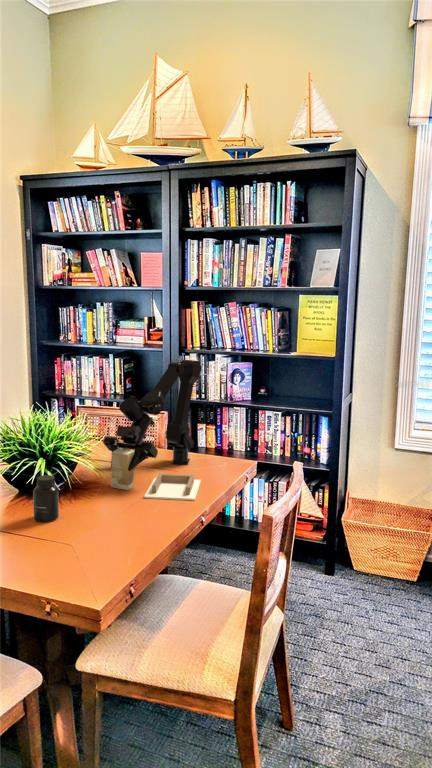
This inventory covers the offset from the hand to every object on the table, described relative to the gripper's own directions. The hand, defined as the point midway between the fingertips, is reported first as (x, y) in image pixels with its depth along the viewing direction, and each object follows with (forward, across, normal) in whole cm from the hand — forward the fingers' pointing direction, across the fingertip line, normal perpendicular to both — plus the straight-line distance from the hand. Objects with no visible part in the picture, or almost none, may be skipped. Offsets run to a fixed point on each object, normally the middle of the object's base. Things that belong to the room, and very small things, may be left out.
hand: (120, 469), depth 181 cm
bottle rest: (0, +16, +10) cm, 19 cm away
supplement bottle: (+26, -4, -16) cm, 31 cm away
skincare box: (+4, 0, +6) cm, 7 cm away
